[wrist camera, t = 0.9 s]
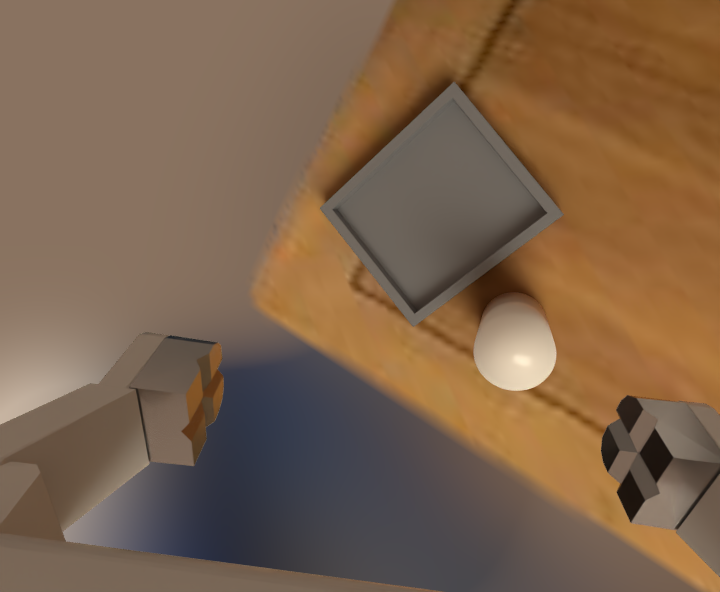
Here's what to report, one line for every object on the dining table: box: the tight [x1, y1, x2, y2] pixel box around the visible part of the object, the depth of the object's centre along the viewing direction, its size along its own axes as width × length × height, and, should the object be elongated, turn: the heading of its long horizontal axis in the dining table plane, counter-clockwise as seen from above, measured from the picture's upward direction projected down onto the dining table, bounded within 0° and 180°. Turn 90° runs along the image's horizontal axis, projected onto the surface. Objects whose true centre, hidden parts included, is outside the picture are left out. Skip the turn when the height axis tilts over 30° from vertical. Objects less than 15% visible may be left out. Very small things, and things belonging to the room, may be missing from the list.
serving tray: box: [320, 82, 564, 327], centre depth 48 cm, size 18×16×2 cm
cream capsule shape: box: [474, 292, 556, 391], centre depth 44 cm, size 6×6×11 cm
